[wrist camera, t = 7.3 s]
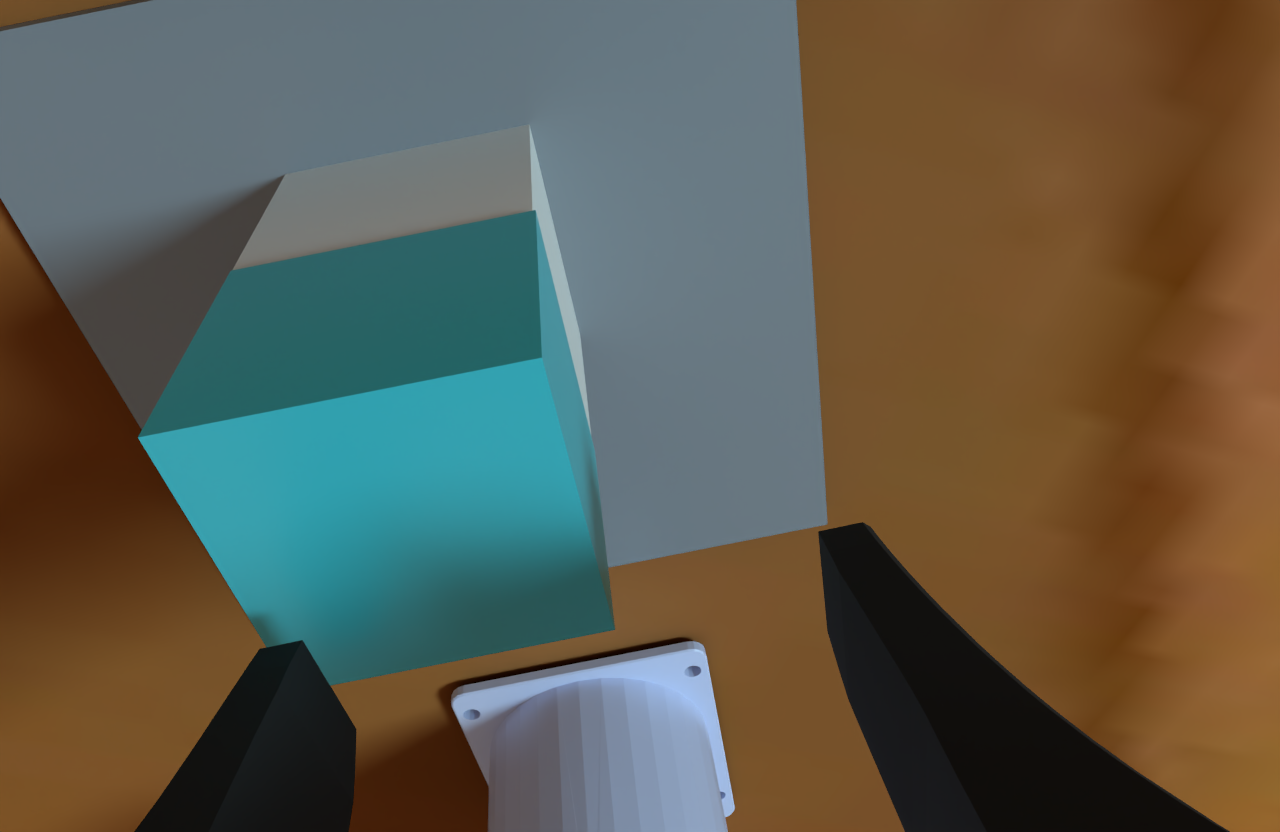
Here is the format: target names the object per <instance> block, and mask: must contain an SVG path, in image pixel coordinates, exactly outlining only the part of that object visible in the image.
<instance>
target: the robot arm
mask: <svg viewBox="0 0 1280 832" xmlns="http://www.w3.org/2000/svg"><path fill="white" fill-rule="evenodd" d="M818 533H819V544H820V555H821V566H822V576H823V587H824V598H825V609H826V619H827V630H828V634H829V638H830V641H831V644H832V647H833V651H834V654H835V657H836V661H837V664H838V667H839V671H840V674H841V677H842V680H843V683H844V687H845V690H846V693H847V696H848V699H849V702H850V704H851V707H852V709H853V711H854V714H855V716H856V718H857V721H858V723H859V725H860V728H861V730H862V732H863V735H864V737H865V740H866V742H867V744H868V747H869V749H870V751H871V754H872V756H873V758H874V761H875V763H876V765H877V767H878V770H879V772H880V774H881V777H882V779H883V781H884V784H885V786H886V788H887V791H888V793H889V795H890V798H891V800H892V802H893V805H894V807H895V809H896V812H897V814H898V816H899V818H900V821H901V823H902V825H903V828H904V830H905V832H1230V831H1228V830H1226V829H1225V828H1223V827H1221V826H1220V825H1218V824H1216V823H1215V822H1213V821H1212V820H1210V819H1209V818H1207V817H1206V816H1204V815H1203V814H1201V813H1200V812H1198V811H1197V810H1195V809H1193V808H1192V807H1190V806H1189V805H1187V804H1186V803H1184V802H1183V801H1181V800H1180V799H1178V798H1177V797H1175V796H1174V795H1172V794H1171V793H1169V792H1167V791H1166V790H1164V789H1163V788H1161V787H1160V786H1158V785H1157V784H1155V783H1154V782H1152V781H1151V780H1149V779H1148V778H1146V777H1145V776H1143V775H1141V774H1140V773H1138V772H1137V771H1136V770H1134V769H1133V768H1131V767H1130V766H1128V765H1127V764H1126V763H1124V762H1123V761H1122V760H1120V759H1119V758H1117V757H1116V756H1115V755H1113V754H1112V753H1110V752H1109V751H1108V750H1106V749H1105V748H1104V747H1102V746H1101V745H1099V744H1098V743H1097V742H1095V741H1094V740H1093V739H1091V738H1090V737H1089V736H1087V735H1086V734H1085V733H1083V732H1082V731H1081V730H1080V729H1078V728H1077V727H1076V726H1074V725H1073V724H1072V723H1070V722H1069V721H1068V720H1067V719H1065V718H1064V717H1063V716H1061V715H1060V714H1059V713H1058V712H1056V711H1055V710H1054V709H1053V708H1051V707H1050V706H1049V705H1048V704H1047V703H1045V702H1044V701H1043V700H1042V699H1040V698H1039V697H1038V696H1037V695H1036V694H1034V693H1033V692H1032V691H1031V690H1030V689H1029V688H1027V687H1026V686H1025V685H1024V684H1023V683H1022V682H1020V681H1019V680H1018V679H1017V678H1016V677H1015V676H1014V675H1012V674H1011V673H1010V672H1009V671H1008V670H1007V669H1006V668H1005V667H1003V666H1002V665H1001V664H1000V663H999V662H998V661H997V660H995V659H994V658H993V657H992V656H991V655H990V654H989V653H988V652H987V651H986V650H985V649H984V648H983V647H981V646H980V645H979V644H978V643H977V642H976V641H975V640H974V639H973V638H972V637H971V636H970V635H969V634H968V633H967V632H966V631H965V630H964V629H963V628H962V627H961V626H960V625H959V624H958V623H957V622H956V621H955V620H954V619H953V618H952V617H951V616H950V615H949V614H948V613H946V612H945V611H944V610H943V609H942V608H941V607H940V605H939V604H938V603H937V602H936V601H935V600H934V599H933V598H932V597H931V596H930V595H929V594H928V593H927V592H926V591H925V590H924V589H923V588H922V587H921V585H920V584H919V583H918V582H917V581H916V580H915V579H914V578H913V577H912V576H911V575H910V574H909V572H908V571H907V570H906V569H905V568H904V567H903V566H902V564H901V563H900V562H899V561H898V560H897V559H896V558H895V556H894V555H893V554H892V553H891V552H890V551H889V549H888V548H887V547H886V546H885V544H884V543H883V542H882V541H881V540H880V538H879V537H878V536H877V535H876V533H875V532H874V531H873V529H872V528H871V527H870V526H868V525H866V524H865V523H863V522H862V523H857V524H852V525H847V526H843V527H838V528H833V529H828V530H824V531H819V532H818ZM690 666H692V667H690ZM451 706H452V709H453V711H454V713H455V715H456V717H457V719H458V722H459V724H460V726H461V728H462V730H463V732H464V734H465V737H466V739H467V741H468V743H469V745H470V747H471V750H472V752H473V754H474V756H475V758H476V760H477V763H478V765H479V767H480V769H481V771H482V773H483V776H484V778H485V780H486V782H487V784H488V786H489V804H488V832H728V830H727V825H726V820H725V817H727V816H729V815H731V814H732V813H733V811H734V809H735V806H734V801H733V796H732V790H731V785H730V780H729V774H728V769H727V764H726V758H725V753H724V748H723V742H722V737H721V732H720V726H719V721H718V716H717V710H716V705H715V700H714V694H713V689H712V684H711V678H710V673H709V668H708V662H707V657H706V652H705V648H704V647H703V645H702V644H700V643H699V642H694V641H687V642H682V643H677V644H671V645H666V646H661V647H656V648H651V649H646V650H641V651H636V652H631V653H626V654H621V655H615V656H610V657H605V658H600V659H595V660H590V661H585V662H580V663H575V664H570V665H565V666H560V667H554V668H549V669H544V670H539V671H534V672H529V673H524V674H519V675H514V676H509V677H504V678H498V679H493V680H488V681H483V682H478V683H473V684H468V685H463V686H460V687H458V688H457V689H455V690H454V691H453V693H452V697H451ZM355 757H356V728H355V726H354V725H353V723H352V721H351V720H350V718H349V716H348V715H347V713H346V711H345V710H344V708H343V706H342V705H341V703H340V701H339V700H338V698H337V696H336V695H335V693H334V691H333V690H332V688H331V686H330V685H329V683H328V681H327V680H326V678H325V676H324V675H323V673H322V671H321V670H320V668H319V666H318V665H317V663H316V661H315V660H314V658H313V656H312V655H311V653H310V652H309V650H308V648H307V647H306V645H305V643H304V642H303V640H300V641H295V642H291V643H286V644H281V645H276V646H272V647H267V648H262V649H259V651H258V652H257V654H256V655H255V657H254V658H253V659H252V661H251V662H250V664H249V665H248V667H247V668H246V670H245V671H244V673H243V674H242V676H241V677H240V679H239V680H238V682H237V683H236V685H235V686H234V688H233V689H232V691H231V692H230V694H229V695H228V697H227V698H226V700H225V701H224V703H223V704H222V706H221V707H220V709H219V710H218V712H217V713H216V715H215V716H214V718H213V719H212V721H211V723H210V724H209V726H208V727H207V729H206V730H205V732H204V733H203V735H202V736H201V738H200V739H199V741H198V742H197V744H196V745H195V747H194V748H193V750H192V751H191V752H190V754H189V755H188V757H187V758H186V760H185V761H184V763H183V764H182V766H181V767H180V768H179V770H178V771H177V773H176V774H175V776H174V777H173V779H172V780H171V782H170V783H169V784H168V786H167V787H166V789H165V790H164V792H163V793H162V795H161V796H160V798H159V799H158V800H157V802H156V803H155V805H154V806H153V807H152V809H151V810H150V811H149V813H148V814H147V815H146V817H145V818H144V819H143V821H142V822H141V823H140V825H139V826H138V827H137V829H136V830H135V832H348V831H349V825H350V819H351V813H352V806H353V796H354V779H355Z"/></svg>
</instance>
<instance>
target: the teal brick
mask: <svg viewBox="0 0 1280 832" xmlns="http://www.w3.org/2000/svg"><path fill="white" fill-rule="evenodd" d="M138 439H139V440H140V442H141V444H142V445H143V447H144V449H145V450H146V452H147V453H148V455H149V457H150V458H151V460H152V462H153V463H154V465H155V466H156V468H157V470H158V471H159V473H160V475H161V476H162V478H163V479H164V481H165V483H166V484H167V486H168V488H169V489H170V491H171V492H172V494H173V496H174V497H175V499H176V501H177V502H178V504H179V505H180V507H181V509H182V510H183V512H184V514H185V515H186V517H187V518H188V520H189V522H190V523H191V525H192V527H193V528H194V530H195V531H196V533H197V535H198V536H199V538H200V540H201V541H202V543H203V544H204V546H205V548H206V549H207V551H208V553H209V554H210V556H211V558H212V559H213V561H214V562H215V564H216V566H217V567H218V569H219V571H220V572H221V574H222V575H223V577H224V579H225V580H226V582H227V584H228V585H229V587H230V588H231V590H232V592H233V593H234V595H235V597H236V598H237V600H238V601H239V603H240V605H241V606H242V608H243V610H244V611H245V613H246V614H247V616H248V618H249V619H250V621H251V623H252V624H253V626H254V627H255V629H256V631H257V632H258V634H259V636H260V637H261V639H262V640H263V642H264V644H265V645H266V647H272V646H276V645H281V644H286V643H291V642H295V641H300V640H303V642H304V643H305V645H306V647H307V648H308V650H309V652H310V653H311V655H312V656H313V658H314V660H315V661H316V663H317V665H318V666H319V668H320V670H321V671H322V673H323V675H324V676H325V678H326V680H327V681H328V683H329V685H335V684H340V683H345V682H350V681H356V680H361V679H366V678H371V677H376V676H381V675H386V674H391V673H396V672H402V671H407V670H412V669H417V668H422V667H427V666H432V665H437V664H442V663H448V662H453V661H458V660H463V659H468V658H473V657H478V656H483V655H488V654H493V653H499V652H504V651H509V650H514V649H519V648H524V647H529V646H534V645H539V644H545V643H550V642H555V641H560V640H565V639H570V638H575V637H580V636H585V635H591V634H596V633H601V632H606V631H611V630H615V625H614V616H613V607H612V598H611V590H610V581H609V572H608V563H607V554H606V545H605V536H604V527H603V519H602V510H601V501H600V492H599V483H598V474H597V465H596V457H595V449H594V445H593V441H592V437H591V433H590V429H589V425H588V421H587V417H586V413H585V409H584V404H583V400H582V396H581V392H580V388H579V384H578V380H577V376H576V372H575V368H574V364H573V360H572V356H571V352H570V347H569V343H568V339H567V335H566V331H565V327H564V323H563V319H562V315H561V311H560V307H559V303H558V299H557V295H556V291H555V286H554V282H553V278H552V274H551V270H550V266H549V262H548V258H547V254H546V250H545V246H544V242H543V238H542V234H541V229H540V225H539V221H538V217H537V213H536V210H533V211H528V212H523V213H518V214H513V215H508V216H503V217H498V218H493V219H488V220H483V221H478V222H473V223H468V224H463V225H458V226H453V227H448V228H443V229H438V230H433V231H428V232H423V233H418V234H413V235H407V236H402V237H397V238H392V239H387V240H382V241H377V242H372V243H367V244H362V245H357V246H352V247H347V248H342V249H337V250H332V251H327V252H322V253H317V254H312V255H307V256H302V257H297V258H292V259H287V260H282V261H277V262H272V263H267V264H262V265H257V266H252V267H247V268H242V269H237V270H232V271H230V273H229V275H228V276H227V278H226V280H225V282H224V284H223V285H222V287H221V289H220V291H219V293H218V294H217V296H216V298H215V300H214V302H213V303H212V305H211V307H210V309H209V311H208V312H207V314H206V316H205V318H204V319H203V321H202V323H201V325H200V327H199V328H198V330H197V332H196V334H195V336H194V337H193V339H192V341H191V343H190V345H189V346H188V348H187V350H186V352H185V354H184V355H183V357H182V359H181V361H180V363H179V364H178V366H177V368H176V370H175V372H174V373H173V375H172V377H171V379H170V381H169V382H168V384H167V386H166V388H165V390H164V391H163V393H162V395H161V397H160V399H159V400H158V402H157V404H156V406H155V408H154V409H153V411H152V413H151V415H150V417H149V418H148V420H147V422H146V424H145V426H144V427H143V429H142V431H141V433H140V434H139V436H138Z"/></svg>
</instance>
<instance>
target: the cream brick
mask: <svg viewBox="0 0 1280 832" xmlns="http://www.w3.org/2000/svg"><path fill="white" fill-rule="evenodd" d="M533 210H536V213H537V217H538V221H539V225H540V229H541V234H542V238H543V242H544V246H545V250H546V254H547V258H548V262H549V266H550V270H551V274H552V278H553V282H554V286H555V291H556V295H557V299H558V303H559V307H560V311H561V315H562V319H563V323H564V327H565V331H566V335H567V339H568V343H569V347H570V352H571V356H572V360H573V364H574V368H575V372H576V376H577V380H578V384H579V388H580V392H581V396H582V400H583V404H584V409H585V413H586V417H587V421H588V425H589V429H590V420H589V411H588V401H587V392H586V383H585V374H584V365H583V356H582V347H581V338H580V332H579V328H578V324H577V320H576V316H575V312H574V307H573V303H572V299H571V295H570V291H569V287H568V282H567V278H566V274H565V270H564V266H563V262H562V258H561V253H560V249H559V245H558V241H557V237H556V233H555V228H554V224H553V220H552V216H551V212H550V208H549V204H548V199H547V195H546V191H545V187H544V183H543V179H542V175H541V170H540V166H539V162H538V158H537V154H536V150H535V145H534V141H533V137H532V133H531V129H530V125H524V126H519V127H514V128H510V129H505V130H500V131H495V132H490V133H485V134H480V135H475V136H470V137H466V138H461V139H456V140H451V141H446V142H441V143H436V144H431V145H426V146H422V147H417V148H412V149H407V150H402V151H397V152H392V153H387V154H382V155H378V156H373V157H368V158H363V159H358V160H353V161H348V162H343V163H338V164H334V165H329V166H324V167H319V168H314V169H309V170H304V171H299V172H294V173H290V174H285V176H284V178H283V180H282V181H281V183H280V185H279V187H278V189H277V190H276V192H275V194H274V196H273V198H272V199H271V201H270V203H269V205H268V207H267V208H266V210H265V212H264V214H263V216H262V217H261V219H260V221H259V223H258V225H257V226H256V228H255V230H254V232H253V234H252V236H251V237H250V239H249V241H248V243H247V245H246V246H245V248H244V250H243V252H242V254H241V255H240V257H239V259H238V261H237V263H236V264H235V266H234V268H233V270H237V269H242V268H247V267H252V266H257V265H262V264H267V263H272V262H277V261H282V260H287V259H292V258H297V257H302V256H307V255H312V254H317V253H322V252H327V251H332V250H337V249H342V248H347V247H352V246H357V245H362V244H367V243H372V242H377V241H382V240H387V239H392V238H397V237H402V236H407V235H413V234H418V233H423V232H428V231H433V230H438V229H443V228H448V227H453V226H458V225H463V224H468V223H473V222H478V221H483V220H488V219H493V218H498V217H503V216H508V215H513V214H518V213H523V212H528V211H533ZM590 433H591V429H590Z"/></svg>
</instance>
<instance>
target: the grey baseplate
mask: <svg viewBox="0 0 1280 832" xmlns="http://www.w3.org/2000/svg"><path fill="white" fill-rule="evenodd" d="M524 125H530V129H531V133H532V137H533V141H534V145H535V150H536V154H537V158H538V162H539V166H540V170H541V175H542V179H543V183H544V187H545V191H546V195H547V199H548V204H549V208H550V212H551V216H552V220H553V224H554V228H555V233H556V237H557V241H558V245H559V249H560V253H561V258H562V262H563V266H564V270H565V274H566V278H567V282H568V287H569V291H570V295H571V299H572V303H573V307H574V312H575V316H576V320H577V324H578V328H579V332H580V338H581V347H582V356H583V365H584V374H585V383H586V392H587V401H588V411H589V420H590V429H591V437H592V441H593V445H594V449H595V457H596V465H597V474H598V483H599V492H600V501H601V510H602V519H603V527H604V536H605V545H606V554H607V563H608V568H609V567H614V566H619V565H624V564H629V563H634V562H639V561H644V560H649V559H654V558H659V557H664V556H669V555H674V554H679V553H685V552H690V551H695V550H700V549H705V548H710V547H715V546H720V545H725V544H730V543H735V542H740V541H745V540H750V539H755V538H761V537H766V536H771V535H776V534H781V533H786V532H791V531H796V530H801V529H806V528H811V527H816V526H821V525H826V524H827V509H826V492H825V475H824V459H823V442H822V425H821V409H820V392H819V375H818V359H817V342H816V325H815V309H814V292H813V275H812V259H811V242H810V225H809V209H808V192H807V175H806V159H805V142H804V125H803V109H802V92H801V75H800V59H799V42H798V25H797V9H796V0H132V1H127V2H122V3H117V4H112V5H107V6H102V7H97V8H92V9H87V10H82V11H78V12H73V13H68V14H63V15H58V16H53V17H48V18H43V19H38V20H33V21H28V22H23V23H19V24H14V25H9V26H4V27H0V198H1V200H2V202H3V203H4V205H5V207H6V208H7V210H8V211H9V213H10V215H11V216H12V218H13V220H14V221H15V223H16V225H17V226H18V228H19V229H20V231H21V233H22V234H23V236H24V238H25V239H26V241H27V243H28V244H29V246H30V247H31V249H32V251H33V252H34V254H35V256H36V257H37V259H38V261H39V262H40V264H41V266H42V267H43V269H44V270H45V272H46V274H47V275H48V277H49V279H50V280H51V282H52V284H53V285H54V287H55V288H56V290H57V292H58V293H59V295H60V297H61V298H62V300H63V302H64V303H65V305H66V307H67V308H68V310H69V311H70V313H71V315H72V316H73V318H74V320H75V321H76V323H77V325H78V326H79V328H80V329H81V331H82V333H83V334H84V336H85V338H86V339H87V341H88V343H89V344H90V346H91V348H92V349H93V351H94V352H95V354H96V356H97V357H98V359H99V361H100V362H101V364H102V366H103V367H104V369H105V370H106V372H107V374H108V375H109V377H110V379H111V380H112V382H113V384H114V385H115V387H116V389H117V390H118V392H119V393H120V395H121V397H122V398H123V400H124V402H125V403H126V405H127V407H128V408H129V410H130V411H131V413H132V415H133V416H134V418H135V420H136V421H137V423H138V425H139V426H140V428H141V429H143V427H144V426H145V424H146V422H147V420H148V418H149V417H150V415H151V413H152V411H153V409H154V408H155V406H156V404H157V402H158V400H159V399H160V397H161V395H162V393H163V391H164V390H165V388H166V386H167V384H168V382H169V381H170V379H171V377H172V375H173V373H174V372H175V370H176V368H177V366H178V364H179V363H180V361H181V359H182V357H183V355H184V354H185V352H186V350H187V348H188V346H189V345H190V343H191V341H192V339H193V337H194V336H195V334H196V332H197V330H198V328H199V327H200V325H201V323H202V321H203V319H204V318H205V316H206V314H207V312H208V311H209V309H210V307H211V305H212V303H213V302H214V300H215V298H216V296H217V294H218V293H219V291H220V289H221V287H222V285H223V284H224V282H225V280H226V278H227V276H228V275H229V273H230V271H232V270H233V268H234V266H235V264H236V263H237V261H238V259H239V257H240V255H241V254H242V252H243V250H244V248H245V246H246V245H247V243H248V241H249V239H250V237H251V236H252V234H253V232H254V230H255V228H256V226H257V225H258V223H259V221H260V219H261V217H262V216H263V214H264V212H265V210H266V208H267V207H268V205H269V203H270V201H271V199H272V198H273V196H274V194H275V192H276V190H277V189H278V187H279V185H280V183H281V181H282V180H283V178H284V176H285V174H290V173H294V172H299V171H304V170H309V169H314V168H319V167H324V166H329V165H334V164H338V163H343V162H348V161H353V160H358V159H363V158H368V157H373V156H378V155H382V154H387V153H392V152H397V151H402V150H407V149H412V148H417V147H422V146H426V145H431V144H436V143H441V142H446V141H451V140H456V139H461V138H466V137H470V136H475V135H480V134H485V133H490V132H495V131H500V130H505V129H510V128H514V127H519V126H524Z"/></svg>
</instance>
